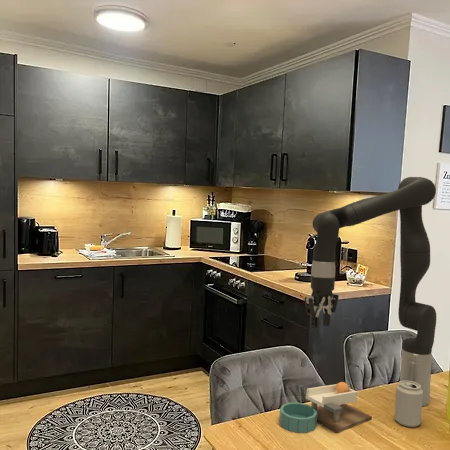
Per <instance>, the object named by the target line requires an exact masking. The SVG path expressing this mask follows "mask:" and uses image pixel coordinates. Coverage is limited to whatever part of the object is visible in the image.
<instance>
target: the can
mask: <svg viewBox="0 0 450 450" xmlns="http://www.w3.org/2000/svg"><path fill="white" fill-rule="evenodd" d="M422 399H423V390H422V389H421V386H420V384H418V383H416V382H413V381H406V380H404V381H400V380H399V382H398V384H397V385H396V387H395V403H394V404H395V405H394V420H396V422H397V423H398V424H400V425H401V426H404V427H407V428H416V427H418V426H419V425H421V424H422V415H423V414H422V413H423V406H422Z"/></svg>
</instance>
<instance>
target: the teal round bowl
mask: <svg viewBox="0 0 450 450" xmlns="http://www.w3.org/2000/svg"><path fill="white" fill-rule="evenodd" d="M278 421H279V425H280V427H282V428H283V429H285V430H287V431H288V432H294V433H297V434H302V433H303V434H308V433H311V432H314V431H315V430H316V428H317V425H318V423H317V411H316V410H315V408H313V407H311V405H309V404H306V403H301V402H287V403H284V404H282V405H281V407H280V408H279V420H278Z"/></svg>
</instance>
